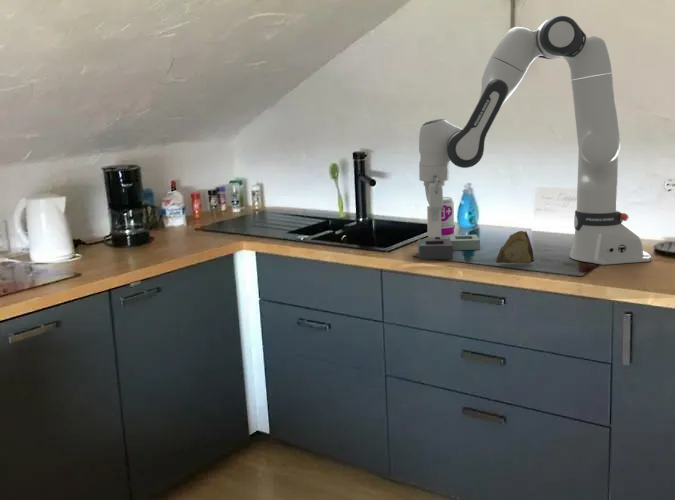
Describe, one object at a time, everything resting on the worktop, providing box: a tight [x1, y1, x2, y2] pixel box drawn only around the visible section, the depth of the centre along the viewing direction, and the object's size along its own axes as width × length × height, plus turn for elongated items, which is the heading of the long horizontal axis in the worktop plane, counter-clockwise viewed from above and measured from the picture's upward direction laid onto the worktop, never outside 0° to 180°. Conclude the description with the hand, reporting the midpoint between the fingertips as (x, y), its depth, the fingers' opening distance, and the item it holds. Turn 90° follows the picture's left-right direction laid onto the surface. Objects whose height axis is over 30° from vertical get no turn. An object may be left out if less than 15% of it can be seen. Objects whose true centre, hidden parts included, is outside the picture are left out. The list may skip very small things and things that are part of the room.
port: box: [417, 238, 454, 260], centre depth 221 cm, size 10×10×5 cm
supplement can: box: [429, 196, 455, 239], centre depth 243 cm, size 8×8×15 cm
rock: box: [496, 230, 535, 264], centre depth 213 cm, size 11×9×10 cm
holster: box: [448, 234, 481, 251], centre depth 231 cm, size 9×9×4 cm
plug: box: [426, 205, 441, 238], centre depth 219 cm, size 4×3×9 cm
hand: (434, 219), depth 219 cm, fingers closed on plug, 3 cm apart
